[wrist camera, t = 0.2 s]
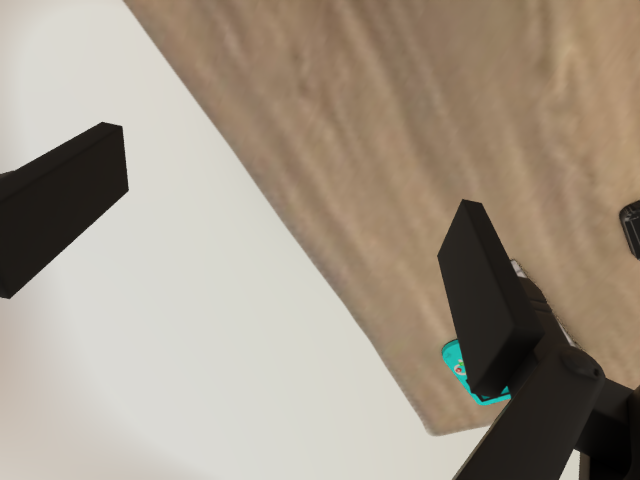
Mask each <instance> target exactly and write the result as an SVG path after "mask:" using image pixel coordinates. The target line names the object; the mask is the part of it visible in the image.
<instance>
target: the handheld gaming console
mask: <svg viewBox="0 0 640 480" xmlns="http://www.w3.org/2000/svg"><path fill="white" fill-rule="evenodd" d="M442 356H443V360H444V361H445V363H446V364H447V365H448V366H449V368H450V369H451V370H452V372H453V373H454V374H455V375H456V377H457V378H458V379H459V381H460V382H461V383H462V384H463V386H464V387H465V388H466V390H467V391H468V392H469V393H470V395H471V396H472V397H473V399H474V400H475V401H476V402H477V403H478V404H479V405H489V404H492V403H496V402H499V401H503V400H506V399H510V398H511V396H510V393H509V390H508V387H507V386H506V388H505V389H504V390H503V392H502V393H501V394H500V396H499V397H498V398H497V399H496V398H491V397H486V396H481V395H477V394H472V393H471V391H470V387H469V383H468V379H467V375H466V371H465V367H464V363H463V359H462V355H461V351H460V347H459V343H458V340H455V341H452V342H450V343H448V344H447V345H445V346H444V348H443V350H442Z"/></svg>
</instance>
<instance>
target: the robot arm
mask: <svg viewBox="0 0 640 480" xmlns="http://www.w3.org/2000/svg"><path fill="white" fill-rule="evenodd" d="M128 190H129V189H128V179H127V168H126V158H125V148H124V138H123V128H122V126H119V125H114V124H110V123H105V122H101V123H99V124H97V125H96V126H94V127H92V128H90V129H88V130H87V131H85V132H83V133H81V134H79V135H78V136H76V137H74V138H72V139H71V140H69V141H67V142H65V143H63V144H62V145H60V146H58V147H56V148H55V149H53V150H51V151H49V152H47V153H46V154H44V155H42V156H40V157H38V158H37V159H35V160H33V161H31V162H30V163H28V164H26V165H24V166H22V167H20V168H19V169H17V170H15V171H10V172H6V173H3V174H0V297H2V298H7V299H10V298H11V297H12V296H13V295H14V294H16V292H18V291H19V290H20V289H21V288H22V287H23V286H24V285H25V284H27V282H29V281H30V280H31V279H32V278H33V277H34V276H35V275H37V274H38V273H39V272H40V271H41V270H42V269H43V268H44V267H45V266H46V265H47V264H48V263H50V262H51V261H52V260H53V259H54V258H55V257H56V256H57V255H58V254H60V252H62V251H63V250H64V249H65V248H66V247H67V246H68V245H70V244H71V243H72V242H73V241H74V240H75V239H76V238H77V237H78V236H79V235H80V234H81V233H83V232H84V231H85V230H86V229H87V228H88V227H89V226H90V225H92V224H93V223H94V222H95V221H96V220H97V219H98V218H99V217H100V216H101V215H103V214H104V213H105V212H106V211H107V210H108V209H109V208H110V207H111V206H112V205H114V203H116V202H117V201H118V200H119V199H120V198H121V197H122V196H123V195H125V194H126V193H127V192H128ZM437 257H438V261H439V265H440V269H441V273H442V277H443V281H444V285H445V290H446V294H447V298H448V302H449V306H450V310H451V314H452V318H453V322H454V326H455V330H456V334H457V338H458V343H459V347H460V351H461V355H462V359H463V363H464V367H465V371H466V375H467V379H468V383H469V387H470V391H471V393H472V394H477V395H481V396H486V397H491V398H496V399H497V398H498V397H499V396H500V394H501V393H502V392H503V390H504V389H505V388H506V386H507V387H508V390H509V393H510V396H511V400H510V401H509V402H508V404H507V405H506V406H505V408H504V409H503V410H502V411H501V413H500V414H499V415H498V417H497V418H496V419H495V421H494V423H493V424H492V425H491V427H490V428H489V430H488V431H487V432H486V434H485V435H484V436H483V438H482V439H481V440H480V442H479V443H478V445H477V446H476V447H475V449H474V450H473V451H472V453H471V454H470V456H469V457H468V458H467V460H466V461H465V462H464V464H463V465H462V466H461V468H460V469H459V470H458V472H457V473H456V475H455V476H454V477H453V479H452V480H559V478H560V476H561V474H562V472H563V470H564V468H565V465H566V463H567V461H568V459H569V457H570V455H571V453H572V451H573V449H575V450H577V451H579V452H580V465H579V480H640V386H639V387H637V388H636V389H635V390H632V389H630V388H628V387H625V386H623V385H621V384H619V383H616V382H614V381H612V380H609V379H607V378H605V374H604V372H603V370H602V368H601V366H600V365H599V364H598V363H597V362H596V361H595V360H594V359H593V358H592V357H591V356H589V355H588V354H587V353H586V352H584V351H582V350H580V349H578V348H576V347H575V346H571V345H570V343H569V342H568V340H567V338H566V336H565V334H564V332H563V331H562V329H561V327H560V325H559V323H558V321H557V319H556V318H555V316H554V314H552V310H551V308H550V307H549V305H548V304H547V301H546V299H545V297H544V296H543V294H542V292H541V290H540V289H539V288H538V287H537V286H536V285H535V284H534V283H533V282H532V281H531V280H530V279H529V278H525V277H520V276H518V275H517V273H516V271H515V269H514V267H513V265H512V263H511V261H510V259H509V257H508V255H507V253H506V251H505V249H504V247H503V245H502V243H501V241H500V239H499V237H498V235H497V233H496V231H495V229H494V227H493V225H492V223H491V221H490V219H489V217H488V215H487V213H486V211H485V209H484V207H483V205H482V203H478V202H474V201H469V200H464V199H462V201H461V203H460V205H459V208H458V210H457V212H456V214H455V217H454V219H453V221H452V223H451V226H450V228H449V230H448V233H447V235H446V237H445V239H444V242H443V244H442V246H441V248H440V251H439V253H438V255H437Z"/></svg>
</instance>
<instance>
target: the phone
mask: <svg viewBox="0 0 640 480" xmlns="http://www.w3.org/2000/svg"><path fill="white" fill-rule="evenodd" d="M619 216H620V221H621V223H622V226H623V229H624V232H625V235H626V238H627V241H628V244H629V247H630V249H631V252H632V254H633V255H634V256H635V257H636V258H637V259H638V260H639V261H640V201H639V202H636V203H634V204H631V205H629V206H627V207H625V208H624V209H623V210H622V211H621V212H620V215H619Z"/></svg>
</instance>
